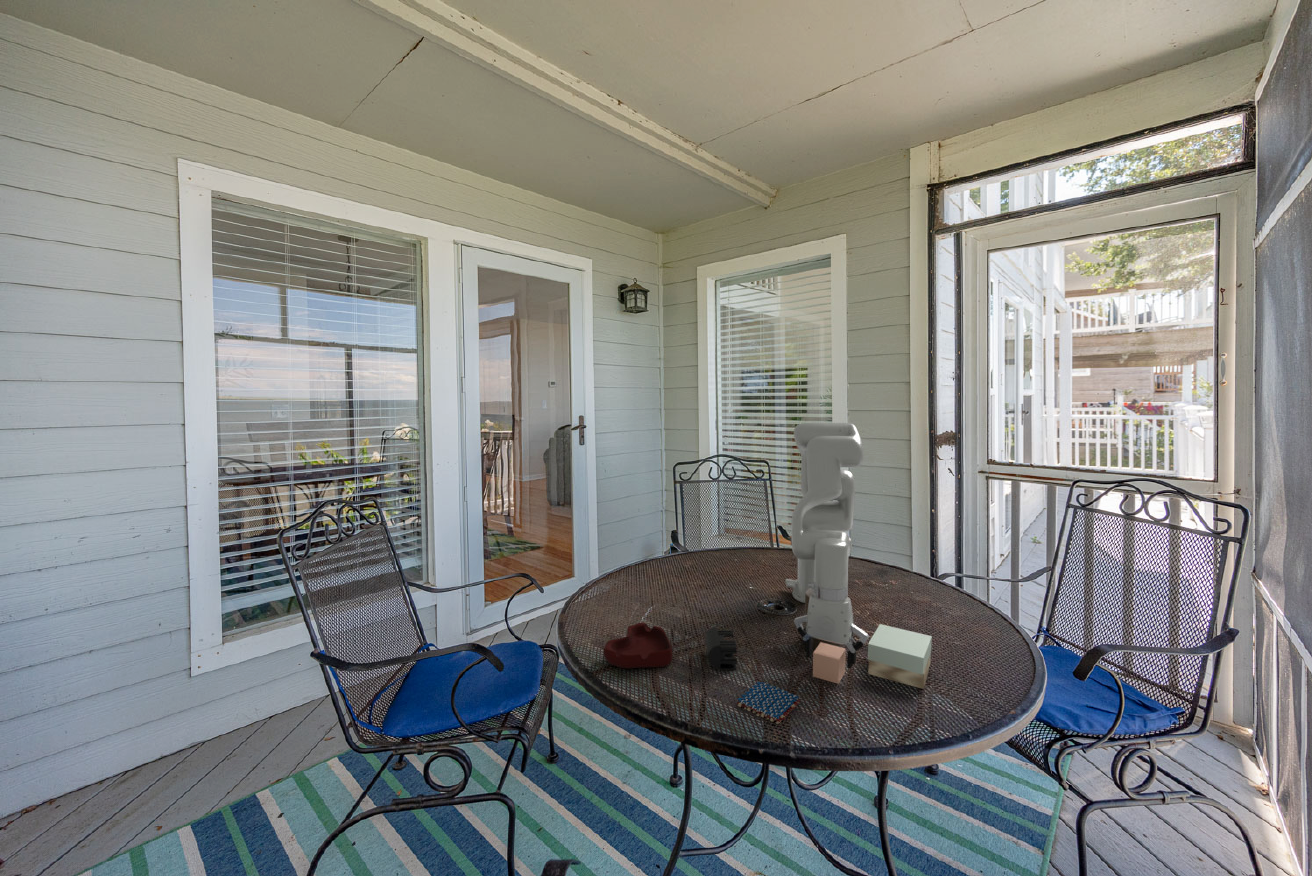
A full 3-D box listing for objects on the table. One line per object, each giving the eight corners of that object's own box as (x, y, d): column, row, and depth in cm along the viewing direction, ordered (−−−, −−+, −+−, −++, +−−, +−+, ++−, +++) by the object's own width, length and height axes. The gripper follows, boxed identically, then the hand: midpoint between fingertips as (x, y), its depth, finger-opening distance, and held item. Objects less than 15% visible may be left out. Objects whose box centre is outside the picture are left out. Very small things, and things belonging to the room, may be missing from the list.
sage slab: (867, 659, 129) (868, 643, 128) (879, 638, 138) (879, 624, 138) (922, 674, 122) (923, 658, 121) (931, 651, 132) (931, 636, 131)
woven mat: (779, 728, 111) (779, 719, 110) (735, 708, 118) (735, 699, 117) (802, 704, 118) (802, 695, 118) (759, 686, 125) (759, 678, 125)
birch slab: (868, 675, 129) (868, 660, 128) (878, 653, 139) (878, 639, 138) (923, 690, 122) (924, 674, 122) (930, 666, 132) (930, 651, 132)
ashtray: (652, 685, 126) (652, 665, 126) (597, 666, 135) (597, 647, 134) (688, 651, 142) (688, 633, 141) (637, 636, 150) (636, 619, 149)
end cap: (705, 650, 141) (704, 626, 140) (732, 650, 141) (732, 626, 140) (708, 671, 131) (707, 645, 131) (737, 671, 131) (737, 645, 130)
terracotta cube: (812, 676, 128) (813, 653, 128) (820, 665, 133) (820, 642, 133) (838, 684, 125) (838, 659, 124) (845, 672, 130) (845, 648, 129)
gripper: (789, 589, 128) (789, 657, 130) (865, 604, 119) (863, 678, 120) (799, 579, 134) (799, 644, 136) (872, 593, 125) (871, 663, 127)
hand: (829, 660), depth 128 cm, fingers open, 9 cm apart
